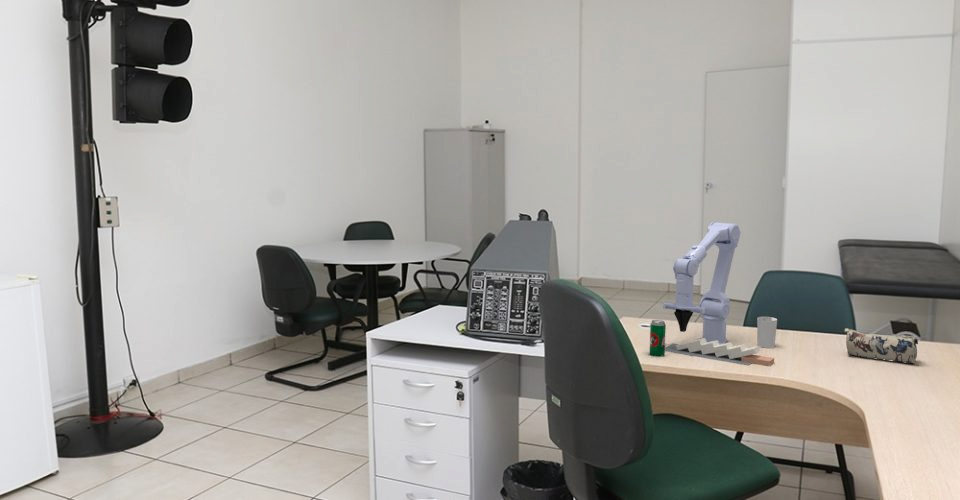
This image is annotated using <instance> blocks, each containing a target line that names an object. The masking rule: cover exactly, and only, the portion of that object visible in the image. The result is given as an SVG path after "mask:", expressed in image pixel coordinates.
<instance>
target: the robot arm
mask: <svg viewBox="0 0 960 500" xmlns="http://www.w3.org/2000/svg"><path fill="white" fill-rule="evenodd" d="M740 237H741V230H740V227H739V225H738V224H737V223H727V222H726V223H725V222H716V221H712V222H711V223H710V224H709V225H708V226H707V231H706V234H705V235H704V237H703V238H702V239H701V240H700V242H699V244H694V245H692V246H691V248H690V249H689V250H688V251H687V252H686V253H685V255H683V256H682V258H677V260H675V262H674V263H673V266H672V268H673V269H672V270H673V273H674V278H675V280H676V281H675V282H676V285H675V302H664V303H663V305H662V309H663V310H664V309H665V310H674V312H673V315H674V316H675V318H676V320H677V323H678V327H679V332H681V333H682V332H683V333H685V332H687V328H688V324H689V323H690V320H691V317H693V314H694V313H695V314H696V313H697V314H700V315H701V318H702V319H703V320H702V338H701V339H703V338H705V339H706V342H711V341H716V340H718V343H719V345H720V344H725V343H728V341H729V339H728V338H727V322H726V318H728V317H729V314H730V310H731V309H730V306H731V305H730V304H731V299H729V297H728V296H727V295H726V294H725V293H726V288H727V284H728V280H729V276H730V272H731V267H732V263H733V259H734V254H735V250H736V249H737V247H738V244H739V240H740ZM714 245H715V246H716V247H717V248H718V249H719V250H718V254H717V258H716V263H715V267H714V272H713V276H712V281H711V284H710V288H709V290H708V291H707V292H705V293H704V294H702V298H701V300H700V301H699V303H698V305H693V302H694V301H693V300H694V276H695V275H697V272H698V269H699V266H700V265H701V263H702V262H703V261H704V259H705V258H706V257H707V256H708V255H707V251H708V250H710V249H711V248H712V247H713V246H714Z"/></svg>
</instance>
